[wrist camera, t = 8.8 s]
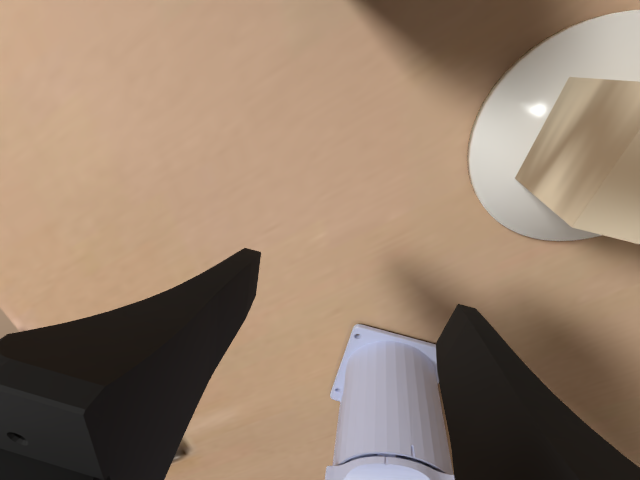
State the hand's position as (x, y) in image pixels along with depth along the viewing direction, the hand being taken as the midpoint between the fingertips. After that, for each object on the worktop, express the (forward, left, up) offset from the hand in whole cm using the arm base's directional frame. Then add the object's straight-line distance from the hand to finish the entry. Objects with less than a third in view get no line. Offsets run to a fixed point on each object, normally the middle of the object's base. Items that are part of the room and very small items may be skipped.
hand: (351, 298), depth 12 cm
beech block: (+6, -10, -9) cm, 15 cm away
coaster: (+6, -10, -10) cm, 15 cm away
